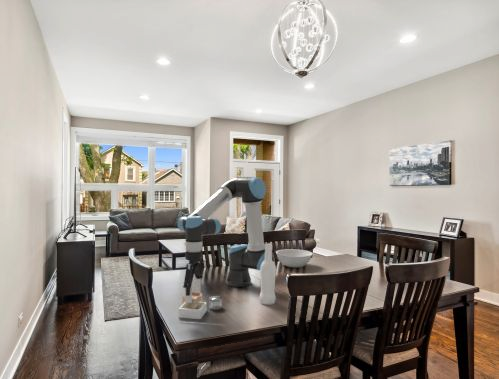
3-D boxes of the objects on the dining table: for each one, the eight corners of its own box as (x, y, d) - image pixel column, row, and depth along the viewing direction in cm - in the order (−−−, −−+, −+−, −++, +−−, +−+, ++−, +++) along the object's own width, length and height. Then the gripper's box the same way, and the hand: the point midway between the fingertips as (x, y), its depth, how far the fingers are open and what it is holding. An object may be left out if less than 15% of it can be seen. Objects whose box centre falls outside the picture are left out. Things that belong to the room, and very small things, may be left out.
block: (198, 313, 154) (198, 296, 154) (195, 316, 150) (195, 298, 150) (189, 312, 155) (190, 295, 155) (186, 316, 151) (187, 298, 151)
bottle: (258, 299, 175) (259, 242, 174) (274, 299, 175) (275, 242, 175) (260, 305, 167) (261, 245, 166) (276, 305, 167) (277, 245, 167)
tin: (223, 306, 164) (223, 296, 164) (220, 311, 158) (220, 300, 158) (210, 306, 165) (210, 295, 165) (207, 310, 159) (207, 299, 159)
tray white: (206, 312, 157) (206, 302, 157) (200, 321, 147) (200, 310, 147) (185, 311, 158) (185, 300, 158) (178, 319, 148) (178, 308, 148)
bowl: (272, 262, 262) (272, 249, 262) (306, 261, 265) (306, 249, 265) (279, 271, 235) (279, 256, 234) (317, 270, 238) (317, 256, 237)
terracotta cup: (203, 303, 169) (203, 292, 169) (198, 309, 160) (198, 298, 160) (186, 302, 170) (186, 291, 170) (180, 308, 161) (180, 297, 161)
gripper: (194, 245, 165) (193, 288, 165) (176, 255, 140) (175, 306, 141) (208, 246, 164) (208, 289, 164) (193, 256, 139) (192, 307, 140)
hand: (193, 297), depth 152 cm, fingers open, 13 cm apart
